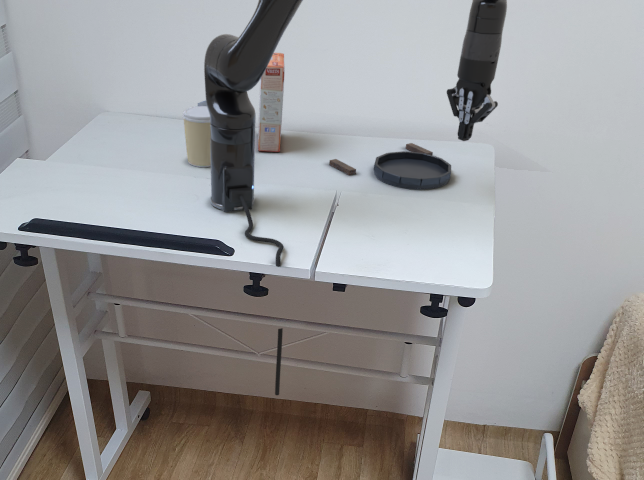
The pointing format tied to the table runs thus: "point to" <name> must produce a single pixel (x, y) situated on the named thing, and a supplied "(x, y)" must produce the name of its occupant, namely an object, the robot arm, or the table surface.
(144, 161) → the table surface
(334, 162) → the walnut strips
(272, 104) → the cracker box
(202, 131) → the coffee cup
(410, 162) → the plate
